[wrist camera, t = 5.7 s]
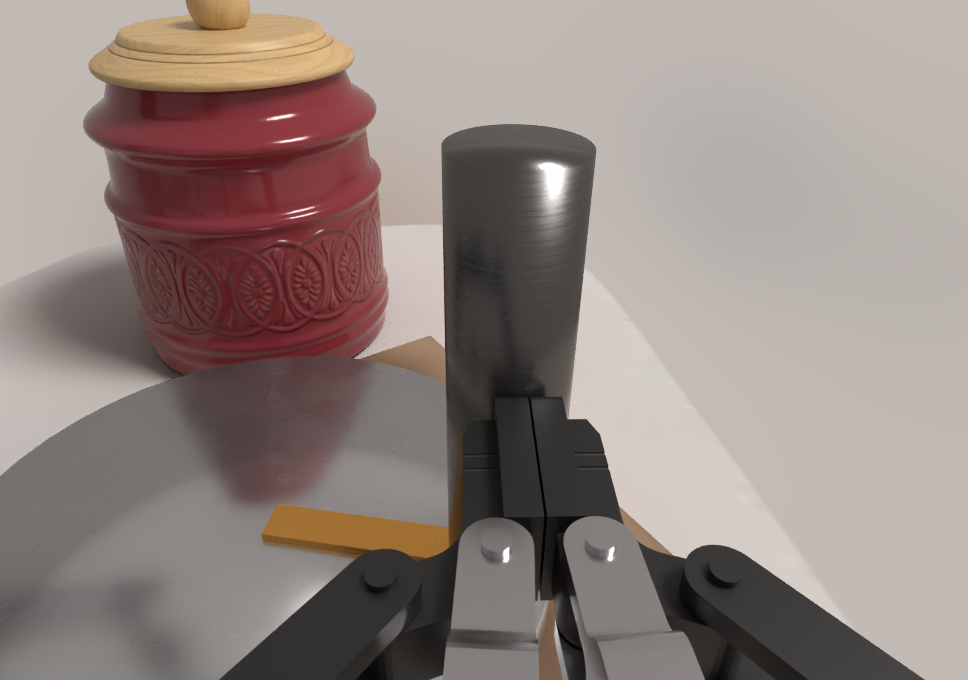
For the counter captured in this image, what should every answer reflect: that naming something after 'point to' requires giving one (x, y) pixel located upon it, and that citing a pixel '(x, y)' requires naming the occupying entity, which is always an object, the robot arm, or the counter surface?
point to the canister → (242, 186)
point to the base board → (431, 362)
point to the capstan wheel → (293, 450)
